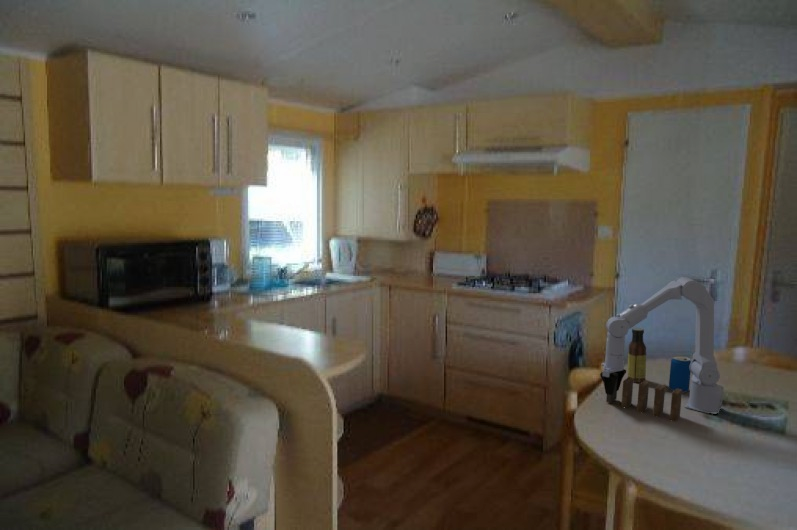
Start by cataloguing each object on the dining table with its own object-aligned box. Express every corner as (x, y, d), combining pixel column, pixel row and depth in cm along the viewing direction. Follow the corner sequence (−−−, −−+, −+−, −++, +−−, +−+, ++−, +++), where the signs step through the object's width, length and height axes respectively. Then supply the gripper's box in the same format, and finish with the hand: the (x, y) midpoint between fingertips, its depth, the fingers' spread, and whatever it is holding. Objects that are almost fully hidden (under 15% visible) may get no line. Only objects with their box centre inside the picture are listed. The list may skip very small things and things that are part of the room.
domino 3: (647, 408, 185) (649, 381, 184) (641, 412, 181) (644, 386, 180) (642, 406, 186) (644, 380, 185) (636, 411, 182) (638, 384, 181)
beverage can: (691, 394, 198) (694, 361, 196) (671, 392, 199) (674, 360, 197) (685, 387, 204) (688, 356, 202) (666, 386, 205) (669, 354, 203)
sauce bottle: (646, 379, 212) (650, 328, 209) (643, 384, 207) (647, 332, 204) (627, 376, 215) (631, 325, 212) (624, 381, 210) (628, 329, 207)
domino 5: (679, 416, 179) (682, 389, 177) (675, 421, 175) (677, 393, 174) (674, 415, 180) (676, 388, 178) (669, 420, 176) (672, 392, 175)
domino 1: (616, 398, 192) (618, 373, 190) (611, 403, 188) (612, 377, 186) (611, 397, 193) (613, 372, 191) (606, 401, 189) (608, 376, 187)
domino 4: (663, 412, 182) (665, 385, 181) (658, 417, 178) (660, 389, 177) (657, 410, 183) (660, 384, 182) (653, 415, 179) (655, 388, 178)
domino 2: (631, 404, 188) (633, 378, 187) (626, 408, 185) (628, 382, 183) (626, 402, 189) (628, 377, 188) (621, 407, 186) (623, 381, 184)
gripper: (611, 346, 196) (608, 383, 198) (594, 355, 185) (591, 394, 187) (631, 350, 191) (628, 388, 193) (616, 360, 180) (613, 400, 182)
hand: (612, 392), depth 190 cm, fingers closed on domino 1, 5 cm apart
